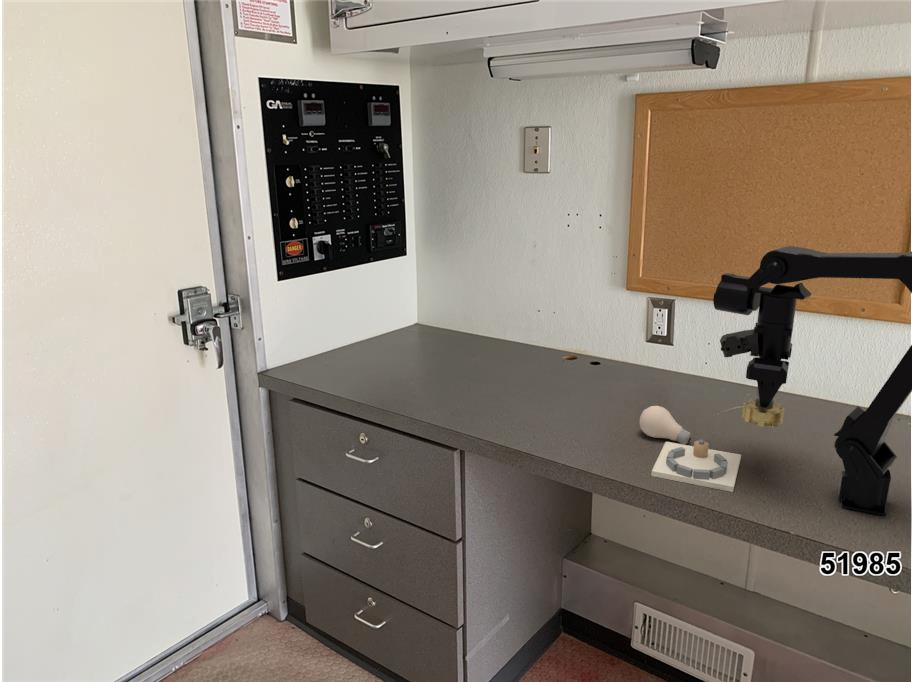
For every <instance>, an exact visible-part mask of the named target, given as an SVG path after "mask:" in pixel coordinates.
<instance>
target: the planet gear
mask: <svg viewBox="0 0 912 682" xmlns="http://www.w3.org/2000/svg"><path fill="white" fill-rule="evenodd" d="M756 387H757V388H756V395H755V399H753V398H752V399H748V401H747V402H746V401H743V405H742V414H741V418H743V419H744V422H746V423H748V424H753V425H756V426H757V427H761V428H764V427H772V428H777V427H779V425H781V424H782V425H783V423H784V416H785V410H786V409H785V408H783V406H782V404H781V403H778V402H775V397H776V395H775V396H774V397H773V399H772V401H771V402H770V404H769V405H768V407H767V408H763V407H761V406H760V400H759V392H758V385H757V386H756Z"/></svg>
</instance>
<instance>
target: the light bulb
mask: <svg viewBox="0 0 912 682" xmlns="http://www.w3.org/2000/svg"><path fill="white" fill-rule="evenodd" d="M639 427H640V430H642V433H644V434H645V435H646V436H647V437H652V438H654V439H655V438H657V439H659V438H660V439H667V440H668V439H669V440H670V441H674V442H675V441H676V442H678V444H683V445H687V444H689V443H690V442H691V441H692V438H691V437H692V434H691V432H690V431H688V430H686V429H685V428H683V426H682V425H680V424H679V423H677V421H676V420H675V419H674V417H673V415H671V413H670V411H669V410H667V409H666V408H665V407H663V406H661V405H660V406H659V405H651V406H648V407H647V408H645V409H644V410H643V411H642V412H641V415H640V417H639Z"/></svg>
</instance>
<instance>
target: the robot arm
mask: <svg viewBox="0 0 912 682" xmlns="http://www.w3.org/2000/svg"><path fill="white" fill-rule="evenodd" d="M819 278H824V279H825V278H827V279H830V278H832V279H876V280H877V279H878V280H879V279H880V280H881V279H883V280H899V281H900V282H902V284H904V286H905V287H906V288H907V289H908V291H909V292H910V293H911V294H912V251H908V252H824V251H818V250H814V249H810V248H807V247H801V246H793V245H789V246H788V245H787V246H782V247H779V248H776V249H773V250H770V251H768V252H767V253H766V254H765V255H763V256H762V258H761V260H760V264H759V268H757V270H756V271H755V272H753V274H752V275H751V276H743V275H737V274H734V273H731V272H727V273H723V274H721V278H720V281H719V282H718V284H717V287H716V289H715V292H714V293H713V297H712V298H713V300H712V301H713V307H714V309H715V310H716V311H719V312H720V311H722V312H725V313H726V312H727V313H733V314H738V315H743V316H750V315H751V314H752V313H753V312H756V311H757V310H758V314H757V321H756V322H755V324H754V325H755V326H754V327H753V329H746V330H745V329H744V330H740V331H735V332H730V333H726V334H724V335H722V336H721V338H719V339H720V340H719V342H720V343H719V344H720V346H721V347H720V351H721V352H722V353H723V357H724V358H732V357H733V356H737V355H741V354H746V353H750V355H749V356H750V357H753V358H752V359H751V360H749V361H748V363H747V365H746V372H745V379H748V380H751V381H756V382H757V386H758V392H759V400H760V406H761V407H763V408H767V407H768V405H769V404H770V402H771V401H772V399H773V397H774V396H775V397H776V395H777V393H778V391H779V390H780V388H781V387H782V386H783V385H784V384H787V379H788V372H789V364H790V362H789V361H788V360H789V359H791V356H792V351H793V350H792V349H793V343H792V337H793V330H794V324H795V323H794V322H795V321H794V320H795V316H796V315H795V314H796V307H797V301H798V300H799V301H802V300H803V301H804V300H805V299H808V298H810V297H811V296H812V293H811V292H810V291H809V289H807V288H806V287H805V285H804V283H803V282H801V281H807V280H813V279H819ZM796 282H798V283H797V284H795V285H794V286H793V285H786V284H789V283H796ZM768 284H771V285H772V284H775V286H773V287H765V285H768ZM786 360H787V361H786ZM911 393H912V344H911V345H910V347H909V348H908V349H907V351H906V352H905V354H904V355H903V357H901V359H900V361H899V362H898V364H897V365H896V366H895V368H894V369H893V371H892V372H891V374H890V376H889V377H888V378H887V380H886V381H885V383H884V384H883V385H882V387H881V388H880V390H879V391H878V393H877V394H876V395H875V397H874V399H873V400H872V401H871V403H870V404H869V406H868V407H867V409H866V410H863V408H861V407H860V406H858V405H857V406H856V407H855V408H854V409H853V410H852V411H851V412H849V414H848V415H847V416H846V417H845V419H844V422H843V423H842V426H841V427H840V428H839V429H838V430H837V431H836V432H834V434H833V436H835V437H837V438H836V439H835V442H834V445H833V447H834V448H835V452H836V454H837V455H838V457H839V458H840V459H841V461H842V464H843V468H844V470H843V471H841V473H840V479H839V484H838V491H837V493H838V499H839V500H840V501H841V503H840V505H841V507H842V508H843V509H847V510H853V511H858V512H863V513H868V514H873V515H879V516H884V517H885V516H887V515H888V510H887V502H888V498H889V497H888V496H889V491H890V487H891V479H892V475H891V471H890V470H889V468H890V467H892V465H893V464H894V462H895V461H896V459H897V458H898V455H897V454H896V453H895V452H894V451H893V449H892V448H891V447H890V446H889V445H888V444H887V442H886V438H887V437H888V434H889V432H890V431H891V430H890V429H891V426H892V424H893V421H894V418H895V415H896V414H897V413H898V411H900V408H901V407H902V406H903V404H904V403H906V400H907V399H908V397H909V396H910V395H911ZM775 397H774V398H775Z"/></svg>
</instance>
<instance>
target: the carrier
mask: <svg viewBox="0 0 912 682" xmlns="http://www.w3.org/2000/svg"><path fill="white" fill-rule="evenodd" d="M709 445H710V444H709V443H708V442H707V441H705V440H704V439H698V440H695V441H694V443H693V446H692V445H689V444H688V445H687V444H685V445H683V444H681V443H677V442H672V441H671V442H670V441H665V442H664V444H663V447H662V449H661V451H660V453H659V455H658V457H657V459H656V460H655V464H654V465H653V467H652V470H651V474H650V475H651V477H655V478H659V479H666V480H671V481H676V482H680V483H686V484H689V485H690V484H691V485H695V486H699V487H706V488H711V489H715V490H721V491H726V492H730V493H734V490H735V485H736V481H737V476H738V473H739V469H740V468H739V467H740V464H741V459H742V454H739V453H733V452H728V451H721V450H715V449H710V448H709Z"/></svg>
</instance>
